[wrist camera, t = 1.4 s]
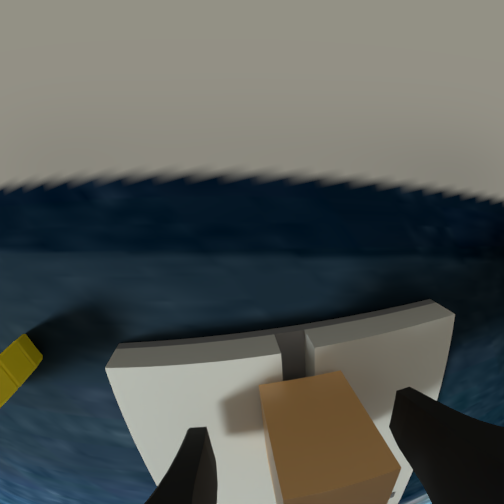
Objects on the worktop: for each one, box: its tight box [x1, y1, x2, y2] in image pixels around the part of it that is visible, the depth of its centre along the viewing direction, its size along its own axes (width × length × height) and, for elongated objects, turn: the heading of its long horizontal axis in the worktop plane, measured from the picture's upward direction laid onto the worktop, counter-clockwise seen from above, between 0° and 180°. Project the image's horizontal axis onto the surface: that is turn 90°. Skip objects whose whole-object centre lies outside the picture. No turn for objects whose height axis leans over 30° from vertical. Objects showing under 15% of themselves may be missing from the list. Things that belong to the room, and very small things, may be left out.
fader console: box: [105, 299, 455, 504], centre depth 13 cm, size 17×14×2 cm
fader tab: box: [259, 370, 401, 504], centre depth 9 cm, size 4×3×7 cm
